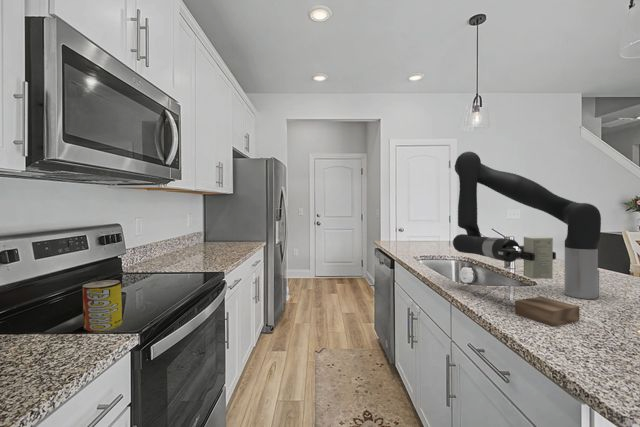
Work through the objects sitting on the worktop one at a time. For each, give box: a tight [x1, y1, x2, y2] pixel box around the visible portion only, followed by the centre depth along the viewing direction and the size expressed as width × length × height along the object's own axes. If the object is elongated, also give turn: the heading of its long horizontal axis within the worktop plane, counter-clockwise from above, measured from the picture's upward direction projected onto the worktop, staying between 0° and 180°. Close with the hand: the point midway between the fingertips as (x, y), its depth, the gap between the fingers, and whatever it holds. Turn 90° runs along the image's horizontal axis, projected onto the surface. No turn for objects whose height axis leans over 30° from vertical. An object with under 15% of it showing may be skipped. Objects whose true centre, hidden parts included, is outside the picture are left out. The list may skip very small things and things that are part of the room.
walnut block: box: [514, 296, 580, 328], centre depth 94 cm, size 11×11×4 cm
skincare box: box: [523, 235, 554, 280], centre depth 96 cm, size 6×4×12 cm
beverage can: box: [82, 279, 123, 333], centre depth 91 cm, size 9×9×12 cm
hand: (544, 256), depth 94 cm, fingers closed on skincare box, 7 cm apart
